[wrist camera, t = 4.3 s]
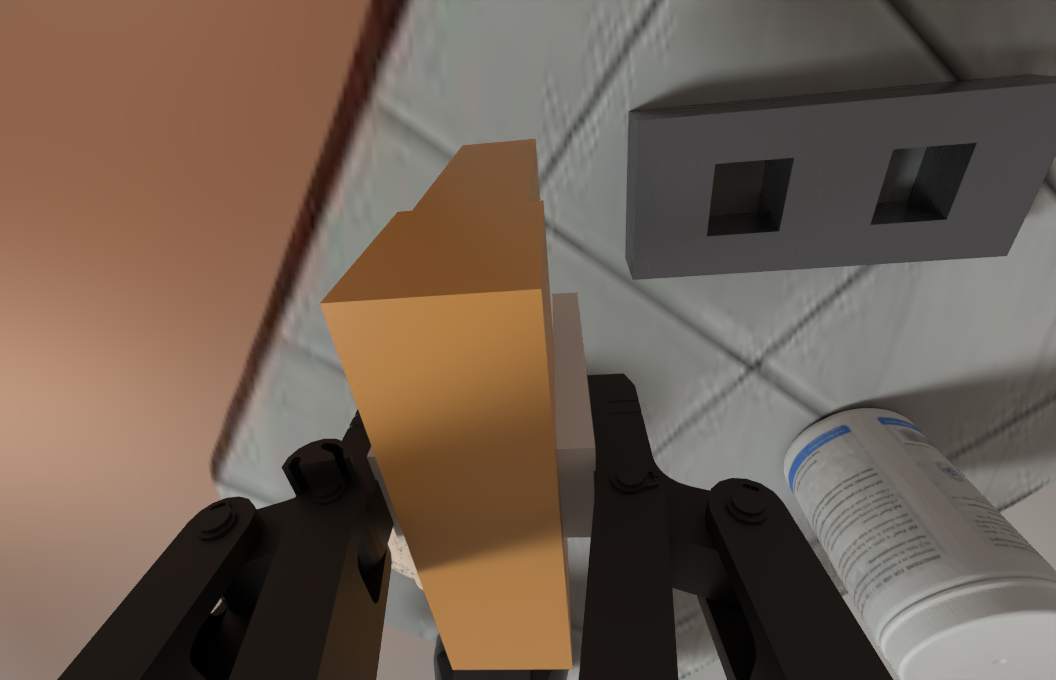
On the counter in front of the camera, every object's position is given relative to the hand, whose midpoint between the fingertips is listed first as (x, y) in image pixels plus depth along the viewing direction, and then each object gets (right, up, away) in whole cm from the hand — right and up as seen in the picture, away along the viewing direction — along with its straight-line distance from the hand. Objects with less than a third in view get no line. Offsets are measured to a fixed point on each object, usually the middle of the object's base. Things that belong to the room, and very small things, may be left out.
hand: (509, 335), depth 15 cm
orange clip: (0, +2, +3) cm, 4 cm away
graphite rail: (+16, +9, +10) cm, 21 cm away
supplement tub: (+25, -8, +21) cm, 34 cm away
